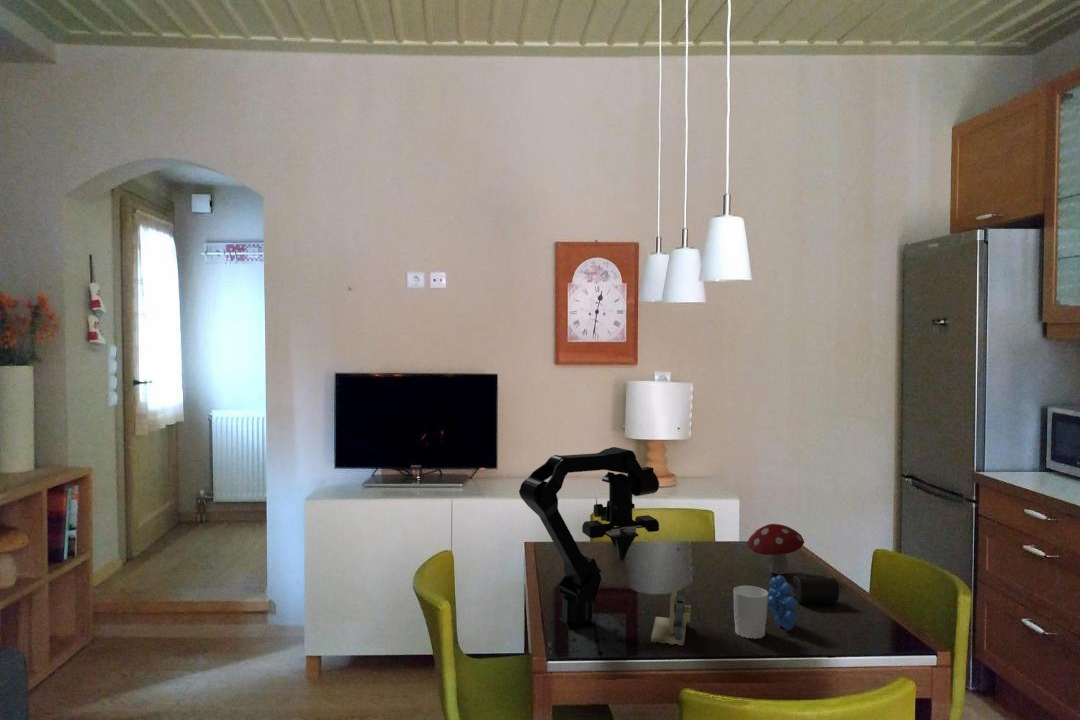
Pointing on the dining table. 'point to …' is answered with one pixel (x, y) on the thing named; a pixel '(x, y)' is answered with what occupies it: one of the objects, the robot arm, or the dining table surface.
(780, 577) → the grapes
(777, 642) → the dining table surface
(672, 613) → the tan notched block
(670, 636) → the birch board
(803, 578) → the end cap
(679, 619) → the grey two-prong bracket
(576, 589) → the robot arm
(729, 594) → the dining table surface
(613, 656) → the dining table surface
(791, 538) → the decorative mushroom
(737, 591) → the white cup
